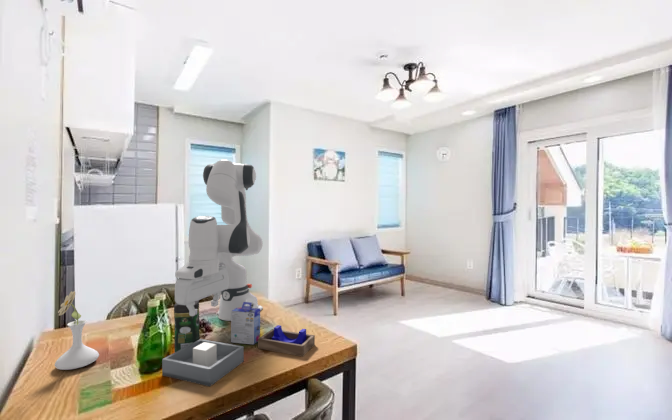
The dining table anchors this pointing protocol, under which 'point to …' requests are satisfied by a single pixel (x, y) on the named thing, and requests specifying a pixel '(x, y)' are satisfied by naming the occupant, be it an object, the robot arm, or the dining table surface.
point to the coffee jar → (185, 326)
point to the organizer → (286, 343)
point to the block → (205, 354)
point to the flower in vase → (75, 341)
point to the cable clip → (281, 337)
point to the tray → (184, 368)
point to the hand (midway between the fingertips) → (204, 310)
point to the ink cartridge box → (245, 324)
